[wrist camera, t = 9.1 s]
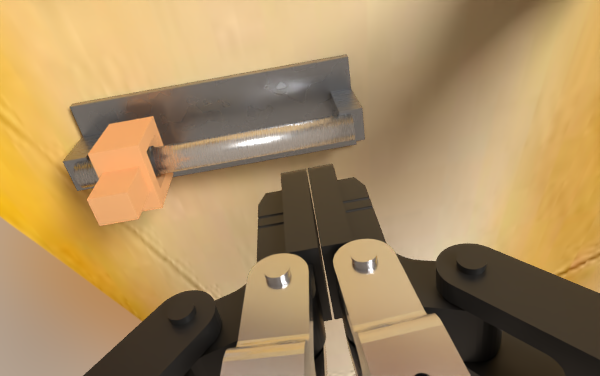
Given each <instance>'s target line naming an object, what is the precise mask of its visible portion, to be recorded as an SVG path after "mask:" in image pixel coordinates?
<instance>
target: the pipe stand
mask: <svg viewBox="0 0 600 376" xmlns="http://www.w3.org/2000/svg"><path fill="white" fill-rule="evenodd" d="M70 109H71V111H72V113H73V115H74V118H75V120H76V122H77V124H78V126H79V129H80V131H81V133H82V135H83V137H82V138H81V139H80V141H79V142H78V143H77V144H76V146H75V147H74V148H73V149H72V151H71V152H70V153H69V154H68V156H67V157H66V158H65V159H64V161H63V163H64V165H65V167H66V169H67V171H68V173H69V175H70V177H71V179H72V181H73V183H74V185H75V187H76V189H77V191H79V190H85V189H90V188H94V187H95V185H96V183H97V182H98V180H99V178H98V175H97V173H96V171H95V169H94V167H93V165H92V162H91V160H90V158H89V156H88V153H89V152H90V150H91V149H92V148H93V146H94V145H95V143H96V142H97V141H98V139H99V138H100V136H101V135H102V134H103V132H104V131H105V129H106V128H107V127H108V125H109V124H112V123H118V122H123V121H129V120H134V119H140V118H146V117H151V116H153V117H154V120H155V123H156V125H157V128H158V131H159V134H160V137H161V140H162V142H163V145H164V146H159V147H154V146H149V148H148V150H147V155H148V157H149V160H150V162H151V165H152V168H153V170H154V173H155V176H156V177H158V176H160V175H161V174H165V173H171V172H173V177H176V176H182V175H187V174H193V173H198V172H204V171H210V170H215V169H221V168H226V167H232V166H238V165H243V164H249V163H254V162H260V161H266V160H271V159H277V158H282V157H288V156H294V155H299V154H305V153H310V152H316V151H321V150H327V149H333V148H338V147H344V146H349V145H355V144H356V141H359V140H364V139H365V135H364V123H363V112H362V107H361V105H360V103H359V101H358V100H357V98H356V96H355V94H354V93H353V91H352V89H351V84H350V74H349V63H348V56H347V55H341V56H336V57H330V58H325V59H319V60H314V61H308V62H303V63H297V64H291V65H286V66H280V67H275V68H269V69H264V70H258V71H253V72H247V73H241V74H236V75H230V76H225V77H219V78H214V79H208V80H203V81H197V82H192V83H186V84H180V85H175V86H169V87H164V88H158V89H153V90H147V91H142V92H136V93H130V94H125V95H119V96H114V97H108V98H103V99H97V100H92V101H86V102H80V103H75V104H72V105H71V106H70Z"/></svg>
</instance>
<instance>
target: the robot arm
mask: <svg viewBox="0 0 600 376" xmlns="http://www.w3.org/2000/svg"><path fill="white" fill-rule="evenodd" d="M308 172H309V178H310V184H311V190H312V196H313V202H314V208H315V214H316V219H315V214H314V209H313V204H312V198H311V193H310V188H309V183H308V177H307V172H306V169H302V170H297V171H291V172H286V173H281V184H282V191H277V192H271V193H266V194H265V196H264V197H263V199H262V200H261V202H260V203H259V205H258V240H257V263H256V264H255V265H254V266H253V267H252V269H251V270H250V272H249V274H248V277H247V284H246V285H244V286H243V287H242V288H240V289H239V290H237V291H235V292H233V293H231V294H229V295H227V296H224V297H222V298H220V299H217V300H215V301H214V300H213V298H212V297H211V296H210V295H209V294H208V293H206V292H203V291H198V290H192V291H185V292H182V293H179V294H176V295H174V296H172V297H171V298H169V299H167V300H166V301H165V302H164V303H162V304H161V305H160V306H159V307H158V308H157V309H156V310H155V311H153V312H152V313H151V314H150V315H149V316H148V317H147V318H146V319H145V320H144V321H143V322H141V323H140V324H139V325H138V326H137V327H136V328H135V329H134V330H133V331H132V332H131V333H129V334H128V335H127V336H126V337H125V338H124V339H123V340H122V341H121V342H120V343H119V344H117V346H115V347H114V348H113V349H112V350H111V351H110V352H109V353H108V354H106V355H105V356H104V357H103V358H102V359H101V360H100V361H99V362H98V363H97V364H96V365H94V366H93V367H92V368H91V369H90V370H89V371H88V372H87V373H86V374H85V375H84V376H327V358H326V347H325V339H326V334H325V327H324V321H328V320H332V316H331V310H330V304H329V298H328V292H327V285H326V279H325V273H324V267H323V261H322V255H323V260H324V265H325V270H326V276H327V281H328V286H329V291H330V297H331V302H332V307H333V312H334V318H335V319H339V318H343V323H344V328H345V333H346V338H347V344H348V349H349V352H350V356H351V359H352V363H353V366H354V370H355V373H356V376H600V293H597V292H595V291H592V290H590V289H588V288H585V287H583V286H580V285H578V284H576V283H573V282H571V281H568V280H566V279H563V278H561V277H559V276H556V275H554V274H551V273H549V272H547V271H544V270H542V269H539V268H537V267H534V266H532V265H530V264H527V263H525V262H522V261H520V260H518V259H515V258H513V257H510V256H508V255H506V254H503V253H501V252H498V251H496V250H493V249H491V248H489V247H486V246H482V245H478V244H458V245H454V246H451V247H449V248H447V249H445V250H444V251H442V252H441V253H440V254H439V256H438V258H437V260H436V261H422V260H413V259H408V258H405V257H402V256H400V255H398V254H396V253H395V251H394V250H393V249H392V248H391V247H390V246H389V245H388V244H387V243H386V241H385V239H384V236H383V233H382V231H381V228H380V225H379V222H378V220H377V217H376V214H375V212H374V209H373V207H372V203H371V201H370V199H369V195H368V192H367V190H366V187H365V185H364V184H362V183H361V182H360V181H358V180H357V179H356V178H354V177H353V178H348V179H342V180H337V178H336V174H335V170H334V167H333V164H329V165H323V166H318V167H313V168H308ZM316 220H317V225H316ZM317 226H318V231H317ZM318 232H319V237H318ZM319 238H320V243H319ZM320 244H321V249H322V255H321V249H320Z"/></svg>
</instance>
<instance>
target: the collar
mask: <svg viewBox="0 0 600 376" xmlns="http://www.w3.org/2000/svg"><path fill="white" fill-rule="evenodd" d="M149 146H154V147H159V146H164V145H163V142H162V140H161V137H160V134H159V131H158V128H157V125H156V123H155V120H154V117H153V116H151V117H146V118H140V119H134V120H129V121H123V122H118V123H112V124H109V125H108V127H107V128H106V129H105V131H104V132H103V134H102V135H101V136H100V138H99V139H98V141H97V142H96V143H95V145H94V146H93V148H92V149H91V150H90V152H89V153H88V156H89V158H90V160H91V162H92V165H93V167H94V169H95V171H96V173H97V175H98V178H99V180H98V182H97V183H96V185H95V187H94V188H93V190H92V192H91V193H90V195H89V197H88V198H87V201H88V203H89V205H90V207H91V209H92V211H93V213H94V215H95V218H96V220H97V222H98V224H99V226H102V225H108V224H113V223H119V222H125V221H130V220H136V219H139V217H140V215H141V212H142V211H148V210H153V209H159V208H163V204H164V201H165V198H166V195H167V192H168V189H169V186H170V183H171V180H172V177H173V172H171V173H165V174H161V175H160V176H158V177H156V176H155V173H154V170H153V168H152V165H151V162H150V160H149V157H148V155H147V150H148V148H149Z"/></svg>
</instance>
